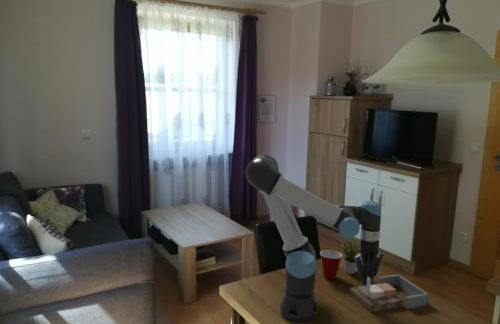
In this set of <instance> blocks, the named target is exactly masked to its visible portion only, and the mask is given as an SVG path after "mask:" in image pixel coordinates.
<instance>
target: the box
mask: <svg viewBox="0 0 500 324" xmlns="http://www.w3.org/2000/svg"><path fill="white" fill-rule="evenodd" d="M377 278H378V279H377V284H379V283H381V284H383V283H388V284H389V285H390V286H392V287H398V288H400V289H401V290H402V291H404V292H406V293H407V294H408V295H406V296H405V299H404V306H403V307H404V308H405V309H406V310H409V309H414V308H415V309H416V308H421V307H426V306H428V305H429V298H430V294H429V293H428V292H426V291H425V290H423V289H422V288H421V287H418V286H417V285H416V284H414V283H413V282H411V281H410V280H408V279H406V278H405V277H403V276H402V275H400V274H399V273H398V274H392V275H391V274H390V275H384V276H378V277H377Z"/></svg>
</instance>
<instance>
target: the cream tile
mask: <svg viewBox="0 0 500 324" xmlns="http://www.w3.org/2000/svg"><path fill="white" fill-rule="evenodd" d="M363 292H364V291H363ZM364 293H365V292H364ZM365 294H366V293H365ZM366 295H367V296H369V297H370V298H371V299H372V298H379V297H383V296H384V291H383V290H382V289H380V288H379V287H378V286H376V285H373V284H371V285H370V293H369V294H366Z"/></svg>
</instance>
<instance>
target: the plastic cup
mask: <svg viewBox="0 0 500 324" xmlns="http://www.w3.org/2000/svg"><path fill="white" fill-rule="evenodd" d="M319 255H320V257H321V264H322V273H323V278H325V279H327V280H335V279H336V278H337V274H338V271H339V267H340V262H341V260H342V257H343V255H344V254H343V253H341V252H339V251H336V250H322V251H320V252H319Z"/></svg>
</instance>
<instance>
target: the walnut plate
mask: <svg viewBox="0 0 500 324" xmlns="http://www.w3.org/2000/svg"><path fill="white" fill-rule="evenodd" d="M376 284H377V283H375V284H372V285H376ZM379 284H381V283H379ZM349 295H350V296H351V297H352V298H353V299H354V300H356V301H357V302H358V303H359V304H360V305H362V306H363V307H364V308H365V309H366V310H367V311H368V312H370V313H374V312H379V311H380V312H381V311H386V310H390V309H397V308H403V307H404V302H405V299H403V298H402V297H400V296H399V295H398V294H396V293H395V295H391V296H385V297H379V298H372V299H371V298H370V297H369V296H367V295H366V294H365V293H364V292H363V285H361V286H360V285H359V286H355V287H350V288H349Z"/></svg>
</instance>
